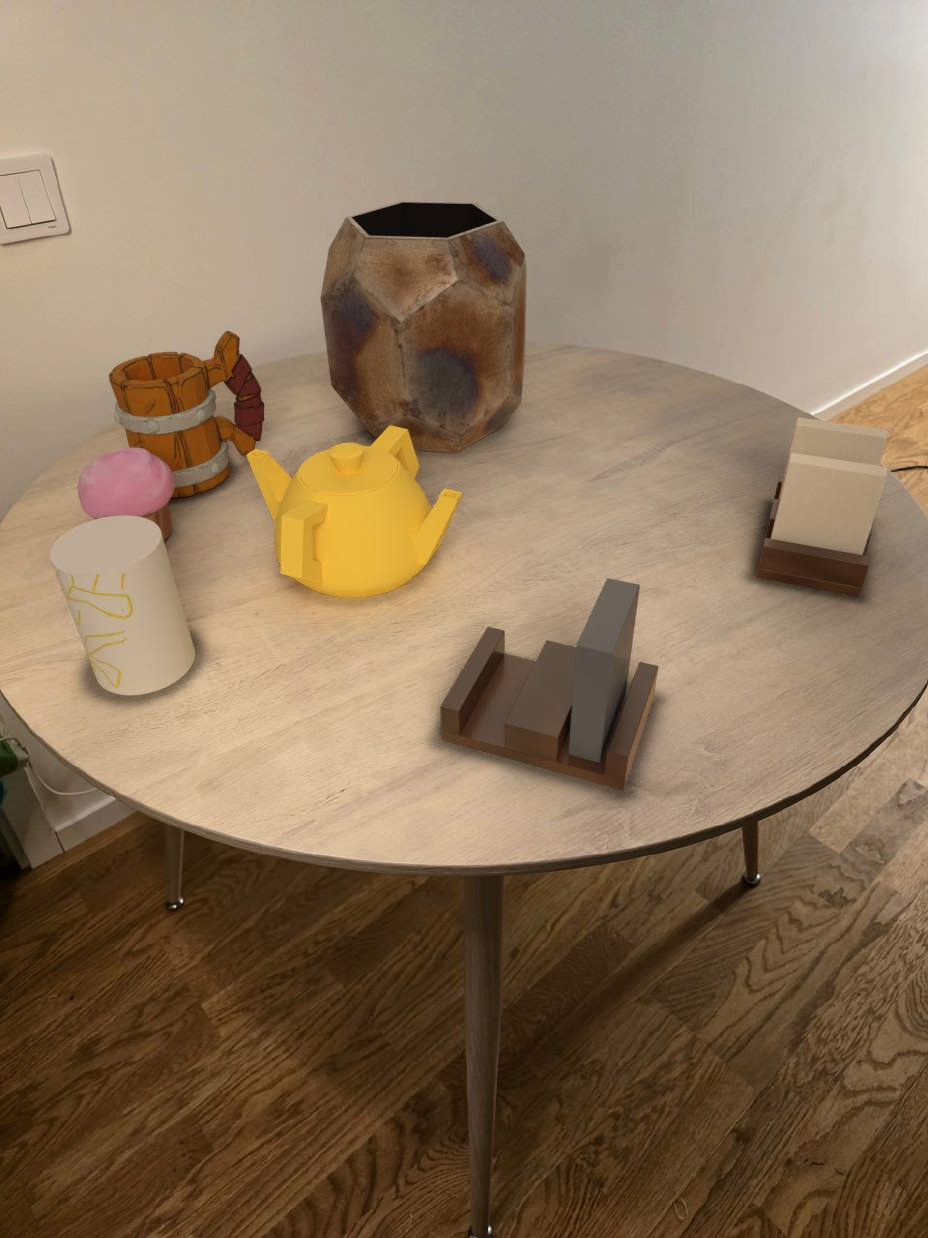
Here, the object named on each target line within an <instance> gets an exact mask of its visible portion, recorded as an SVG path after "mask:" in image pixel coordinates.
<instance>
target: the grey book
mask: <svg viewBox="0 0 928 1238" xmlns="http://www.w3.org/2000/svg"><path fill="white" fill-rule="evenodd" d="M640 588H641V585H640V584H638V583H633V582H629V581H624V580H619V579H614V578H610V577H607V578H606V580H605V581H604V584H603V586H602V588H601V591H600V593H599V595H598V597H597V600H596V602H595V603H594V606H593V608H592V610H591V613H590V615H589V616H588V619H587V620H586V624H585V626H584V627H583V630H582V632H581V635H580V637H579V639H578V640H577V643H576V645H575V647H576V659H575V671H574V684H573V697H572V710H571V723H570V736H569V749H568V754H569V755H572V756H576V757H579V758H583V759H587V760H590V761H594V762H598V763H600V762H601V759H602V757H603V754H604V751H605V748H606V746H607V743H608V740H609V737H610V735H611V732H612V729H613V726H614V724H615V721H616V718H617V715H618V713H619V710H620V707H621V704H622V702H623V699H624V696H625V693H626V689H627V683H628V681H629V673H630V666H631V665H630V664H631V657H632V650H633V643H634V636H635V635H634V634H635V628H636V627H635V626H636V618H637V613H638V604H639V596H640V590H641V589H640Z"/></svg>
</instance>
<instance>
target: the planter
mask: <svg viewBox="0 0 928 1238" xmlns="http://www.w3.org/2000/svg"><path fill="white" fill-rule="evenodd" d="M526 261H527V260H526V253H525V252H524V250H523V249H522V247H521V246H520V243H518V241H517V239H516V238H515V236H514V235H513V233H512V231H511V230H510V228H509V227H508V225H507V224H506V222H505V221H504V220H503V219H501V218H500V217H498V216H497V215H495V214H494V213H492V212H490V211H488V210H487V209H486V208H484V207H483V206H481V205H479V204H478V203H476V202H447V201H446V202H445V201H405V200H403V201H398V202H394V203H391V204H388V205H384V206H381V207H377V208H374V209H370V210H366V211H364V212H363V211H362V212H360V213H357V214H353V215H349V216H346V217H345V218H344V220H343V222H342V223H341V225H340V227H339V229H338V231H337V232H336V234H335V236H334V238H333V240H332V242H331V244H330V245H329V247H328V250H327V259H326V262H325V269H324V276H323V280H322V286H321V292H320V306H321V314H322V322H323V330H324V331H323V332H324V338H325V346H326V347H325V348H326V354H327V362H328V370H329V377H330V386H331V387H332V389H333V390H334V391H335V392H336V393H337V395H338V396H339V397H340V398H341V400H342V401H343V402H344V404H346V406H347V407H348V408H349V409H350V411H351V412H352V413H353V414H354V415H355V417H357V419H358V420H359V421H360V423H361V424H362V425H363V426H364V427H365V429H366V430H367V431H368V432H369V433H370V434H371V436H373V438H374V439H375V441H376V440H377V438H378V437H379V436H380V435H381V434H382V433H383V432H384V431H385V430H386V429H387V428H388V427H389V425H392V426H396V427H400V428H404V429H408V432H409V435H410V438H411V441H412V444H413V448H414V451H419V452H435V453H447V454H449V453H450V454H457V453H459V452H461V451H462V450H464V449H466V448H468V447H469V446H471V445H473V444H475V443H477V442H478V441H480V440H482V439H484V438H485V437H487V436H489V435H491V434H493V433H494V432H496V431H498V430H500V429H501V428H503V427H504V426H505V425H506V423H507V422H508V421H509V419H510V418H511V417H512V416H513V415H514V413H515V412H516V411H517V409H518V408H519V407H520V405H521V404H522V397H523V385H524V375H525V360H526V333H527V330H526V328H527V327H526V326H527V285H528V284H527V283H528V280H527V279H528V270H527V263H526Z"/></svg>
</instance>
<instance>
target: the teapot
mask: <svg viewBox="0 0 928 1238" xmlns="http://www.w3.org/2000/svg"><path fill="white" fill-rule="evenodd" d="M246 458H247V462H248V463H249V466H250V468H251V470H252V473H253V475H254V478H255V480H256V483H257V485H258V487H259V489H260V492H261V495H262V497H263V498H264V501H265V504H266V505H267V508H268V510H269V513H270V515H271V517H272V520H273V522H274V525H275V526H274V549H275V555H276V558H277V561H278V562H279V564H280V571H279V572H280V574H279V575H284V576H287V577H290V578H292V579H294V580H295V581H296V582H299V583H300V584H301V585H303V586H305V587H306V588H308V589H310V590H312V591H315V592H316V593H320V594H323V595H325V596H330V597H335V598H345V599H356V598H357V599H358V598H359V599H360V598H368V597H373V596H378V595H382V594H385V593H387V592H392V591H393V590H395V589H398V588H400V587H401V586H403V585H405V584H406V583H408V582H409V581H411V580H412V579H413V578H414V577H415V576H416V575H418V573H420V571H421V570H423V568H424V567H425V566H426V565H427V564H428V563H429V561H430V560H431V559H432V557H433V556H434V554H435V553H436V552H437V551H438V549H439V548H440V546H441V544H442V541H443V539H444V537H445V535H446V532H447V530H448V528H449V527H450V524H451V521H452V519H453V517H454V515H455V513H456V511H457V508H458V506H459V503H460V502H461V500H462V497H463V492H462V491H460V490H459V491H458V490H454V489H450V488H444V489H443V490H442V491H441V492H440V493H439V494H438V499H437V501H436V502H435V503H434V505H433V507H432V506H431V503H430V502H429V500H428V499H429V498H428V497H427V495H426V494H425V492H424V490H423V488H422V487H421V485H420V484H419V482H418V481H417V480H416V476H417V474H418V471H419V468H420V463H419V461H418V458H417V454H416V450H414V448H413V444H412V441H411V438H410V435H409V432H408V429H404V428H400V427H396V426H392V425H389V427H388V428H387V429H386V430H385V431H384V432H383V433H382V434H381V435H380V436H379V437H378V438H377V440H376V439H375V440H374V441H373V442H372V443H371V445H369V446H368V445H362V444H360V443H357V442H341V443H338V444H335V445H333V446H331V447H330V448H327V449H324V450H322V451H319V452H317V453H314V454H313V455H311V456H310V457H308V458H307V459H305V460H304V462H302V463H301V465H300V466H299V467H298V469H297V470H296V471H295V474H294V475H293V477H291V476H290V475H289V474H288V473H287V472H286V470H285V469H283V467H282V466H281V465H280V464H279V463H278V462H277V461H276V460H275V459H274V458H273V456H271V454H270V452H269V451H266V450H262V449H257V448H255V450H253V451H252V452H250V453H248V454H247V456H246Z"/></svg>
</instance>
